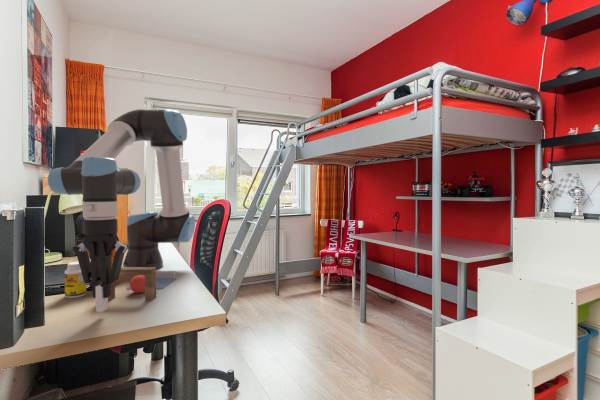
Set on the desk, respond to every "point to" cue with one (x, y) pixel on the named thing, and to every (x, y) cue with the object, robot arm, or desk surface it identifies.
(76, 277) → the supplement bottle
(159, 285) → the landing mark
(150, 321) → the desk surface
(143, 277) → the ball
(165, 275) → the stopper wall
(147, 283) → the bridge
